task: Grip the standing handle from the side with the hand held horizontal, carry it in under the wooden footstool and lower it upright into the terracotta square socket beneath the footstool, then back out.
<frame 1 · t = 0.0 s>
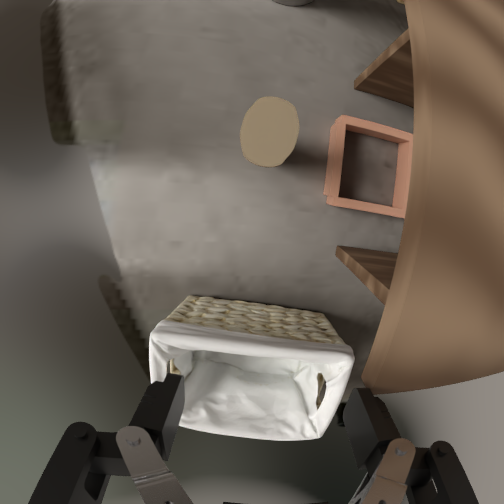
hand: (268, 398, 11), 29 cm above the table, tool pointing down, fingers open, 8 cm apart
handle: (265, 151, 37), on the table
storage basket: (249, 338, 44), on the table
wooden footstool: (367, 168, 37), on the table
socket: (367, 168, 37), on the table
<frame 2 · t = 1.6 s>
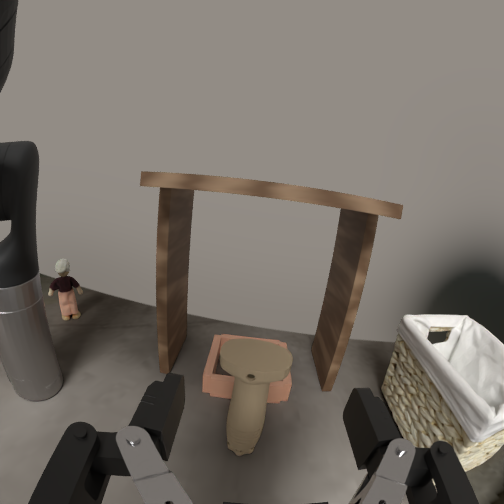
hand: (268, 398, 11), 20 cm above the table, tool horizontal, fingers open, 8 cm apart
handle: (240, 447, 27), on the table
storage basket: (433, 429, 28), on the table
wooden footstool: (246, 374, 42), on the table
grandmother figurine: (69, 317, 48), on the table
socket: (246, 374, 42), on the table
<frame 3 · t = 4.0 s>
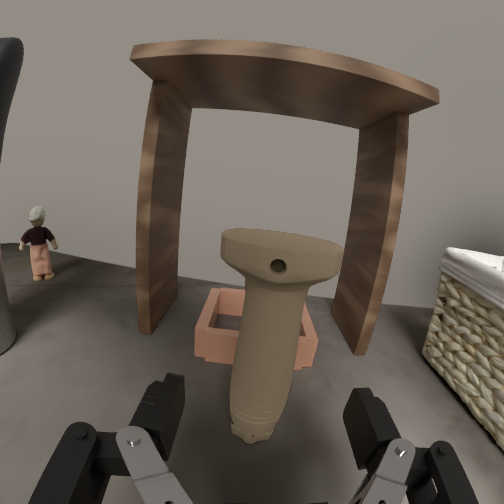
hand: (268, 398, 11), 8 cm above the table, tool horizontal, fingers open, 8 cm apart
handle: (251, 432, 18), on the table
storage basket: (491, 395, 19), on the table
wooden footstool: (254, 336, 33), on the table
grandmother figurine: (41, 278, 38), on the table
socket: (254, 336, 33), on the table
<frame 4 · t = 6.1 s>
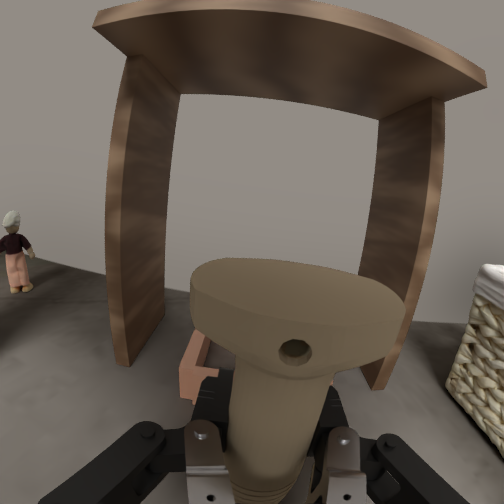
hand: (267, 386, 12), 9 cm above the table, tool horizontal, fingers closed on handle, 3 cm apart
handle: (248, 501, 12), on the table, touching gripper
wooden footstool: (253, 369, 26), on the table
grandmother figurine: (19, 290, 32), on the table
socket: (253, 369, 26), on the table
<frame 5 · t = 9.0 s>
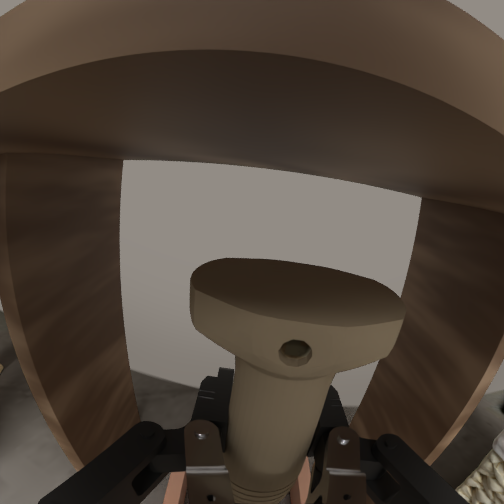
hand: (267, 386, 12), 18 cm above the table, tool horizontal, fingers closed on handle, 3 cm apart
handle: (248, 502, 12), point 9 cm above the table, touching gripper
wooden footstool: (238, 503, 17), on the table
socket: (238, 503, 17), on the table
when the fingers open (10 cm above the table, at t = 11.8 s): handle drops 1 cm, resting in socket.
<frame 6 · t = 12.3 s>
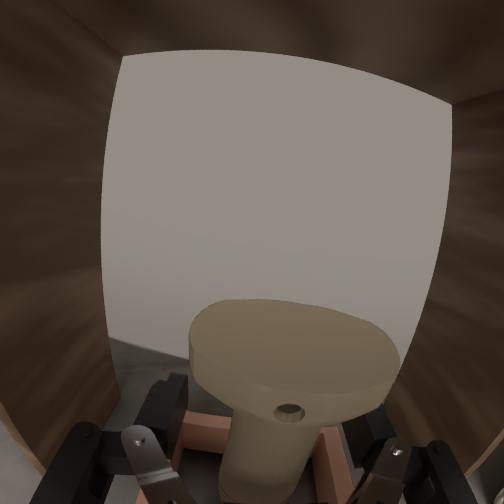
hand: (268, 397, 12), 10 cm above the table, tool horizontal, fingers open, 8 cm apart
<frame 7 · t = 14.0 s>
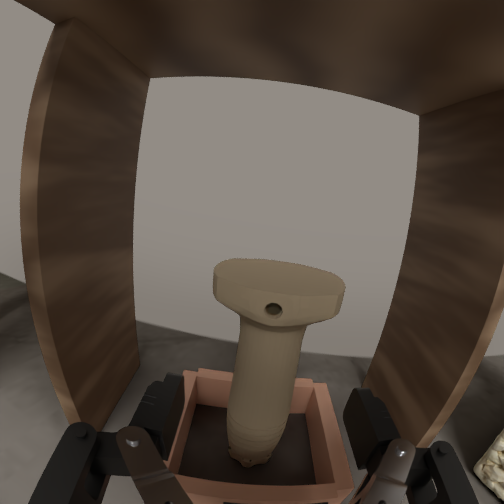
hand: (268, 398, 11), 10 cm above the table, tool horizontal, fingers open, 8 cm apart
handle: (249, 455, 17), resting in socket
wooden footstool: (249, 452, 17), on the table
socket: (249, 452, 17), on the table
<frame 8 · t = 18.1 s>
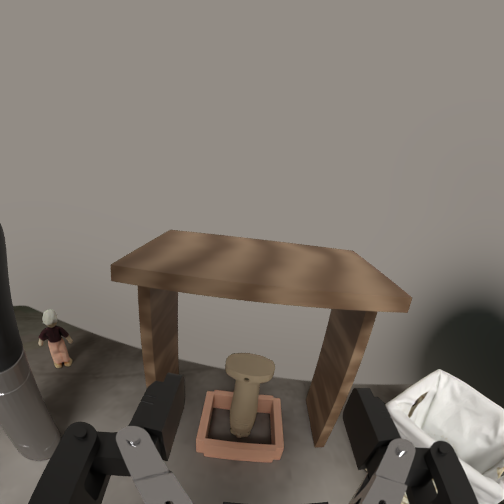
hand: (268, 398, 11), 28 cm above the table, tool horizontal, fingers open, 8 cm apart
handle: (240, 432, 38), resting in socket
storage basket: (421, 482, 24), on the table
wooden footstool: (240, 431, 38), on the table
grandmother figurine: (61, 364, 43), on the table
socket: (240, 431, 38), on the table
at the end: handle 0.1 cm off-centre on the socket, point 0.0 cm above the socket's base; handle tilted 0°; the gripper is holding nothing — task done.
